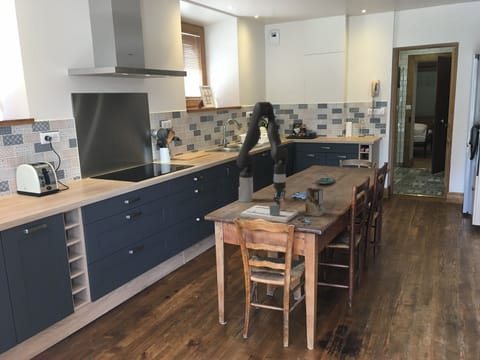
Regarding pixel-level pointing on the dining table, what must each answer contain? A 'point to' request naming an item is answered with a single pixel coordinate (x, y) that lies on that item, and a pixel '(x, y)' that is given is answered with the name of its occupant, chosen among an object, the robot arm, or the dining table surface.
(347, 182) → the dining table surface
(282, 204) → the block
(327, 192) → the dining table surface
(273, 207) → the slate fader
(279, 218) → the console
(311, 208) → the coffee box
